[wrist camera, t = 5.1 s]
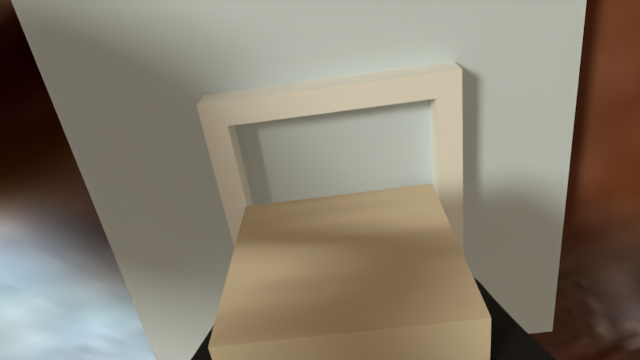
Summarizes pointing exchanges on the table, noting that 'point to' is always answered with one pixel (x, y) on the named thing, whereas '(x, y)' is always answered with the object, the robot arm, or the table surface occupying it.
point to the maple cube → (350, 283)
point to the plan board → (312, 129)
